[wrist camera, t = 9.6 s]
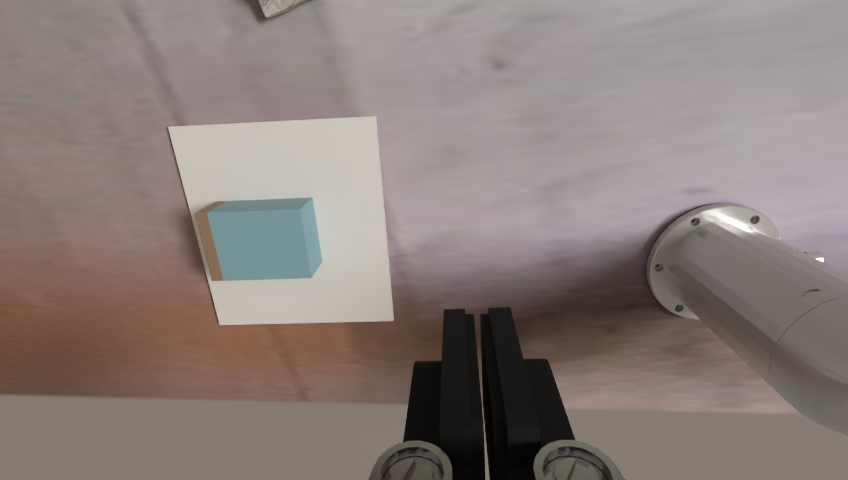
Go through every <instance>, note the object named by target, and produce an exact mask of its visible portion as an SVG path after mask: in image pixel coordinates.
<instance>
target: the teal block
mask: <svg viewBox="0 0 848 480" xmlns="http://www.w3.org/2000/svg"><path fill="white" fill-rule="evenodd" d="M194 214H195V218H196V222H197V226H198V230H199V234H200V238H201V241H202V245H203V249H204V253H205V257H206V261H207V265H208V269H209V272H210V276H211V280H212V281H232V280H266V279H300V278H312V277H313V275H314V273H315V272H316V270H317V269H318V267H319V266H320V264H321V263H322V256H321V249H320V243H319V236H318V229H317V223H316V216H315V209H314V203H313V198H288V199H263V200H238V201H216V202H214V203H212V204H210V205H208V206H207V207H205V208H203V209H201V210H199V211H197V212H196V213H194Z"/></svg>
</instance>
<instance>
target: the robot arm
mask: <svg viewBox="0 0 848 480" xmlns="http://www.w3.org/2000/svg"><path fill="white" fill-rule="evenodd" d="M823 261H824V258H823V255H822V254H821V253H820V252H801V251H799V250H797V249H795V248H793V247H791V246H789V245H787V244H785V243H783V242H781V238H780V235H779V233H778V230H777V228H776V227H775V226H774V224H773V223H772V222H771V220H769V219H768V218H767V217H766V216H765V215H763V214H762V213H760V212H758V211H756V210H754V209H751V208H749V207H746V206H743V205H739V204H733V203H716V204H711V205H706V206H702V207H700V208H697V209H694V210H692V211H690V212H688V213H686V214H684V215H683V216H681V217H679V218H678V219H676V220H675V221H674V222H673V223H671V224H670V225H669V226H668V227H667V228H666V229H665V230H664V231H663V232H662V233H661V235H660V236H659V237H658V239H657V240H656V242H655V243H654V245H653V247H652V249H651V252H650V254H649V257H648V262H647V281H648V285H649V288H650V290H651V292H652V294H653V295H654V297H655V298H656V299H657V300H658V301H659V302H660V303H661V304H662V305H663V306H664V307H665V308H666V309H667V310H669V311H670V312H672V313H674V314H676V315H678V316H681V317H684V318H689V319H696V320H701V321H702V322H703V323H704V324H706V325H707V326H708V327H709V328H710V329H711V330H712V331H713V332H714V333H715V334H716V335H717V336H718V337H719V338H720V339H722V340H723V341H724V342H725V343H726V344H727V345H728V346H729V347H730V348H731V349H732V350H733V351H734V352H735V353H736V354H737V355H739V356H740V357H741V358H742V359H743V360H744V361H745V362H746V363H747V364H748V365H749V366H750V367H751V368H752V369H753V370H755V371H756V372H757V373H758V374H759V375H760V376H761V377H762V378H763V379H764V380H765V381H766V382H767V383H768V384H769V385H770V386H772V387H773V388H774V389H775V390H776V391H777V392H778V393H779V394H780V395H781V396H782V397H783V398H784V399H785V400H786V401H787V402H788V403H790V404H791V405H792V406H793V407H794V408H795V409H796V410H798V411H799V412H800V413H801V414H803V415H804V416H805V417H807V418H809V419H810V420H812V421H814V422H815V423H817V424H819V425H821V426H824V427H825V428H828V429H830V430H832V431H835V432H838V433H841V434H844V435H847V436H848V274H846V273H844V272H842V271H840V270H838V269H836V268H834V267H832V266H830V265H828V264H826V263H824V262H823ZM480 323H481V355H482V387H483V410H484V421H485V432H486V443H487V454H488V465H489V476H490V480H625V479H624V477H623V476H622V474H621V472H620V471H619V469H618V467H617V466H616V465H615V464H614V462H613V461H612V460H611V459H610V457H608V456H607V455H606V454H604V453H603V452H602V451H601V450H599V449H598V448H596V447H593V446H591V445H589V444H587V443H584V442H580V441H575V438H574V435H573V432H572V430H571V427H570V423H569V420H568V417H567V414H566V412H565V409H564V406H563V403H562V400H561V397H560V394H559V391H558V388H557V385H556V382H555V379H554V376H553V373H552V370H551V367H550V365H549V362H548V360H547V359H523V356H522V352H521V348H520V344H519V340H518V336H517V332H516V328H515V324H514V321H513V317H512V313H511V309H510V307H506V308H488V314H480ZM369 480H485V455H484V430H483V415H482V403H481V392H480V381H479V369H478V358H477V346H476V335H475V324H474V314H465V309H444V322H443V347H442V361H415V363H414V368H413V375H412V383H411V390H410V397H409V404H408V411H407V419H406V426H405V433H404V440H403V443H399V444H396V445H395V446H393V447H391V448H389V449H387V450H386V451H385V452H384V453H383V454H382V455H381V456H380V457H379V458H378V460H377V462H376V463H375V465H374V467H373V469H372V472H371V475H370V477H369Z"/></svg>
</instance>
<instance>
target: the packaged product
mask: <svg viewBox="0 0 848 480" xmlns="http://www.w3.org/2000/svg"><path fill="white" fill-rule="evenodd" d="M258 1H259V3H260V5H261V7H262V10H263V12H264V14H265V16H266V18H269V17H274V16H277V15H280V14H283V13H285V12H287V11H289V10H291V9H293V8H295V7H297V6H299V5H301V4H303V3H305V2H307V1H309V0H258Z"/></svg>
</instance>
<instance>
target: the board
mask: <svg viewBox="0 0 848 480" xmlns="http://www.w3.org/2000/svg"><path fill="white" fill-rule="evenodd" d="M168 129H169V133H170V137H171V141H172V145H173V148H174V152H175V156H176V160H177V164H178V168H179V171H180V175H181V179H182V183H183V187H184V191H185V194H186V198H187V202H188V206H189V210H190V213H191V217H192V221H193V225H194V229H195V233H196V236H197V240H198V244H199V248H200V252H201V256H202V259H203V263H204V267H205V271H206V275H207V278H208V282H209V286H210V290H211V294H212V298H213V301H214V305H215V309H216V313H217V317H218V321H219V324H220V325H241V324H285V323H328V322H371V321H394V312H393V301H392V289H391V278H390V267H389V256H388V245H387V233H386V222H385V211H384V200H383V188H382V177H381V166H380V155H379V144H378V132H377V121H376V116H365V117H345V118H326V119H306V120H286V121H266V122H247V123H227V124H207V125H188V126H170V127H168ZM288 198H313V203H314V209H315V216H316V223H317V229H318V236H319V243H320V249H321V256H322V263H321V264H320V266H319V267H318V269H317V270H316V272H315V273H314V275H313V277H312V278H300V279H266V280H232V281H212V280H211V276H210V272H209V269H208V265H207V261H206V257H205V253H204V249H203V245H202V241H201V238H200V234H199V230H198V226H197V222H196V218H195V214H194V213H196V212H197V211H199V210H201V209H203V208H205V207H207V206H208V205H210V204H212V203H214V202H216V201H238V200H263V199H288Z"/></svg>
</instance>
